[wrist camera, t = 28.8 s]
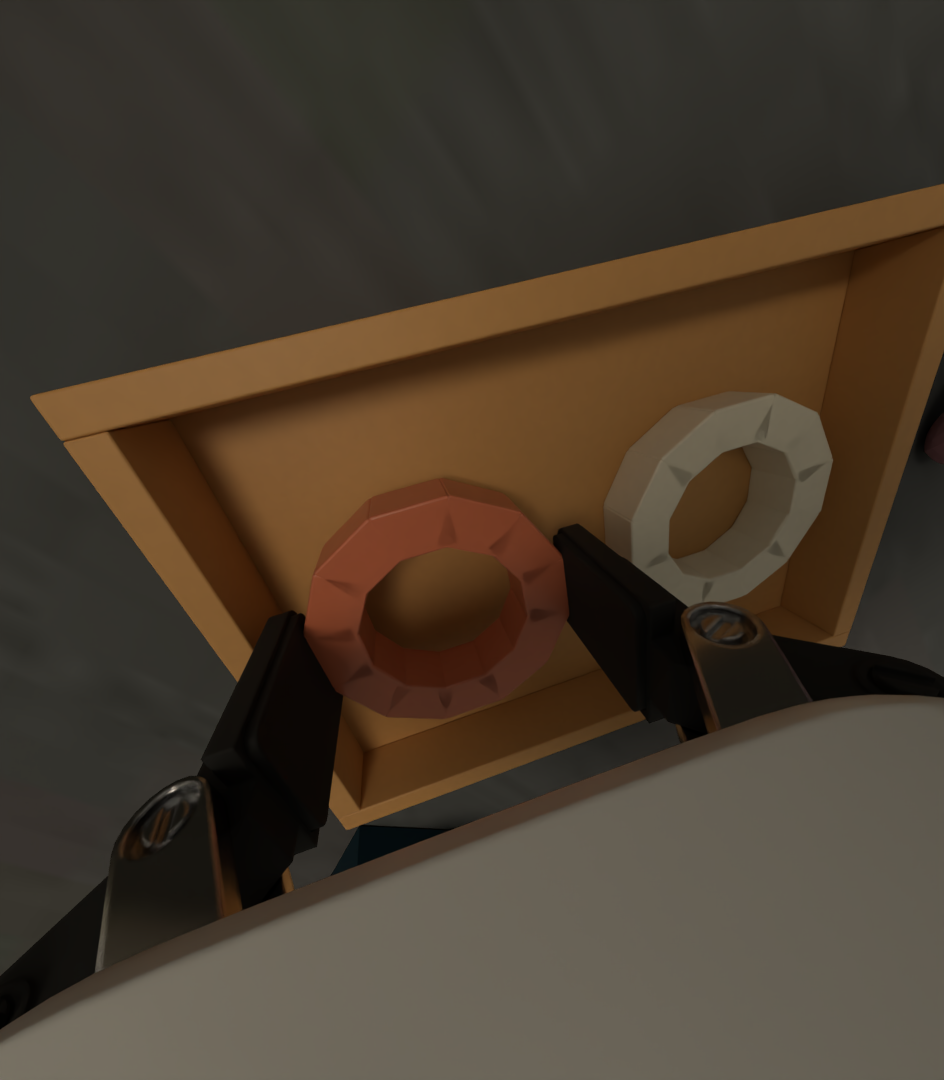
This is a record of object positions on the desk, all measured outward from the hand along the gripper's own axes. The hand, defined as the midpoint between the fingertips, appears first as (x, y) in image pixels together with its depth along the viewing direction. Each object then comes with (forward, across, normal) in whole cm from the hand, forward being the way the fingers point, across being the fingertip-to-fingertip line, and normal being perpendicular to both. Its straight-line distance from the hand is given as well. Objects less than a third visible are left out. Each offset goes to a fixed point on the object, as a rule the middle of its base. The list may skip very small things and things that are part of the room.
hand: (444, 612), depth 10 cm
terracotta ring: (+1, 0, 0) cm, 1 cm away
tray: (+3, -5, 0) cm, 5 cm away
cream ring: (+2, -10, 0) cm, 10 cm away
